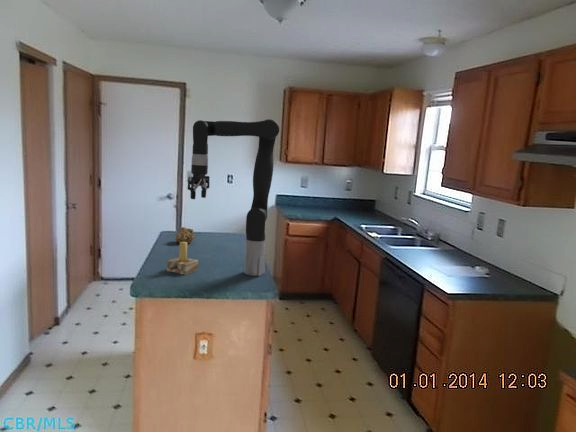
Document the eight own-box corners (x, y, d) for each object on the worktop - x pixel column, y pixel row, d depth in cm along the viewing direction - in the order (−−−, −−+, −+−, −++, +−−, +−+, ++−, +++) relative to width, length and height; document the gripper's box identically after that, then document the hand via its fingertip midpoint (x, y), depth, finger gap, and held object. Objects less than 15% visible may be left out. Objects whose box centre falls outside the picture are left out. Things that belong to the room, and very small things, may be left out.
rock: (180, 240, 279) (180, 224, 277) (196, 242, 277) (196, 226, 276) (172, 244, 267) (173, 228, 265) (189, 246, 266) (189, 229, 264)
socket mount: (198, 270, 220) (198, 260, 219) (181, 276, 208) (181, 266, 207) (179, 266, 224) (180, 256, 223) (162, 272, 212) (162, 262, 211)
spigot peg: (187, 270, 219) (188, 242, 216) (183, 272, 215) (184, 243, 213) (181, 269, 220) (182, 241, 218) (177, 270, 217) (178, 242, 214)
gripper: (197, 165, 201) (196, 200, 203) (214, 164, 214) (213, 198, 216) (183, 163, 204) (182, 198, 206) (201, 163, 216) (200, 196, 219)
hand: (198, 198), depth 211 cm, fingers open, 8 cm apart
